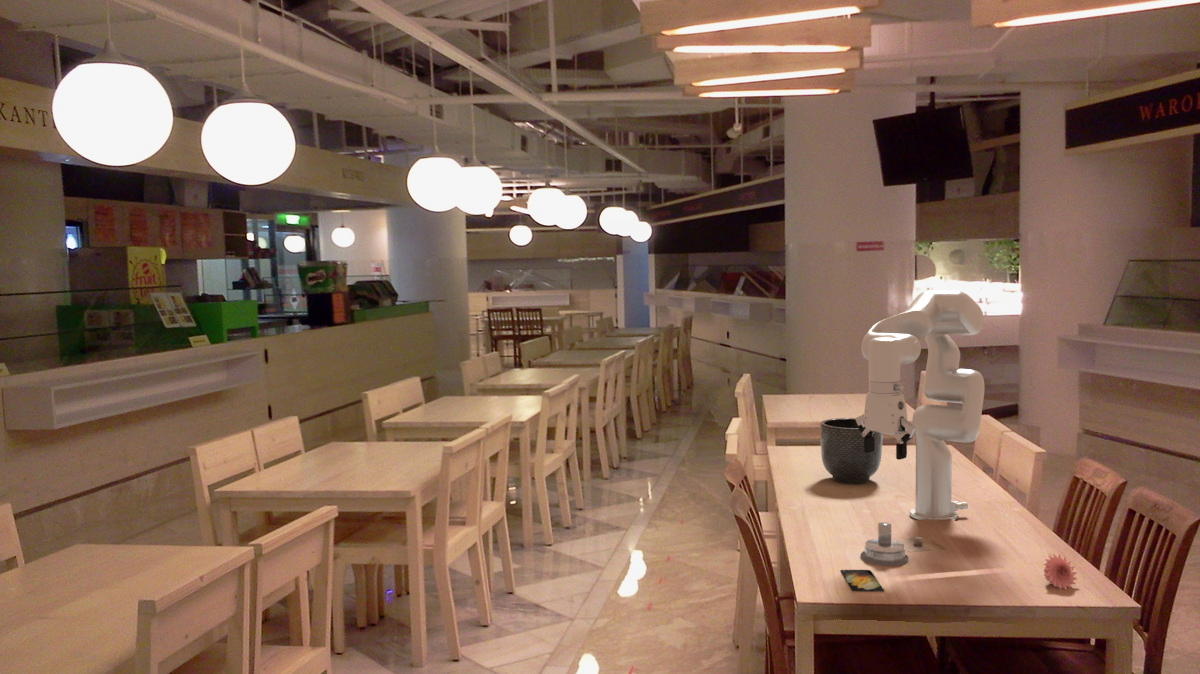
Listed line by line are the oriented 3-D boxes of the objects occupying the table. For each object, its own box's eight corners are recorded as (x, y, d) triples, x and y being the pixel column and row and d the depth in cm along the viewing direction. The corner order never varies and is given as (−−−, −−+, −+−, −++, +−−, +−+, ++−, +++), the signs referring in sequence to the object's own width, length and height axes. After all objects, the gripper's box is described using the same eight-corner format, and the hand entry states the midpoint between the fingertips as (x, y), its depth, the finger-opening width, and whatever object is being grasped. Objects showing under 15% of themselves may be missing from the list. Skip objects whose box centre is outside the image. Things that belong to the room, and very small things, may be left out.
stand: (926, 541, 242) (926, 531, 241) (946, 552, 232) (947, 542, 232) (890, 543, 240) (890, 533, 240) (909, 555, 230) (909, 545, 230)
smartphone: (870, 569, 220) (885, 591, 206) (870, 572, 220) (885, 594, 206) (839, 569, 221) (852, 591, 206) (839, 572, 221) (852, 594, 206)
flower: (1036, 552, 213) (1050, 545, 208) (1069, 566, 212) (1084, 559, 207) (1032, 584, 209) (1046, 578, 204) (1065, 599, 208) (1081, 592, 203)
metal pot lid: (894, 553, 232) (894, 541, 232) (916, 567, 221) (917, 555, 221) (852, 556, 230) (853, 544, 230) (873, 571, 220) (873, 558, 219)
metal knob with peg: (872, 547, 232) (872, 517, 231) (909, 553, 227) (909, 522, 226) (859, 557, 225) (859, 525, 224) (897, 564, 220) (897, 531, 219)
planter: (859, 471, 319) (859, 416, 318) (895, 484, 301) (895, 425, 299) (808, 476, 313) (808, 420, 312) (841, 490, 295) (841, 430, 293)
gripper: (923, 389, 227) (924, 458, 229) (866, 381, 241) (867, 447, 243) (904, 393, 223) (904, 464, 225) (846, 385, 237) (847, 452, 239)
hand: (885, 455), depth 234 cm, fingers open, 9 cm apart
